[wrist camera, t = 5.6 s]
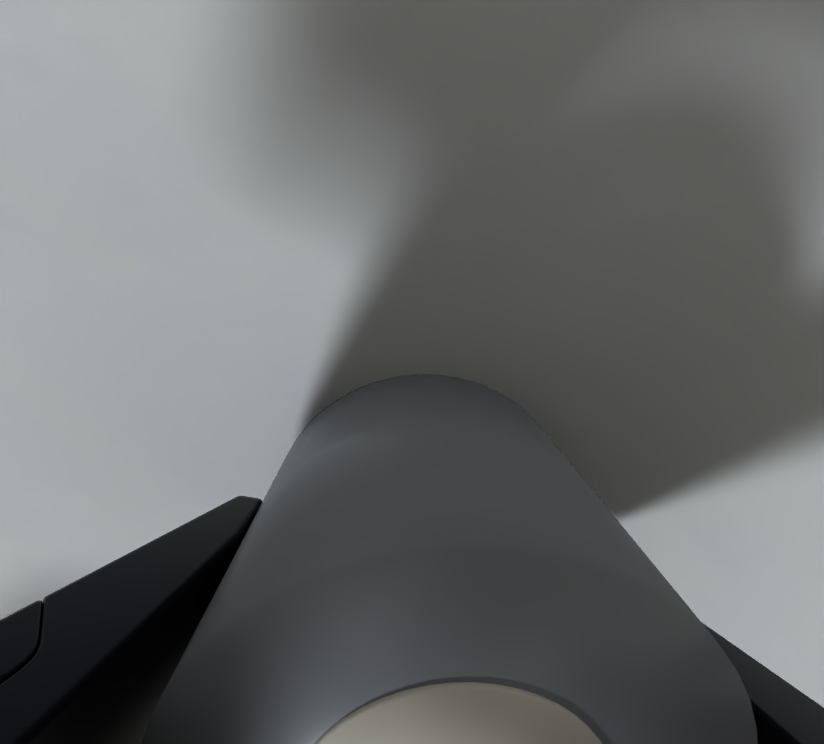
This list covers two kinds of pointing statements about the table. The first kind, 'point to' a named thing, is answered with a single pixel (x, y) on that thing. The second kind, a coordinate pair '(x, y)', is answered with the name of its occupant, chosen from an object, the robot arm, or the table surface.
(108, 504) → the table surface
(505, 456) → the grey short round piece
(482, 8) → the table surface
